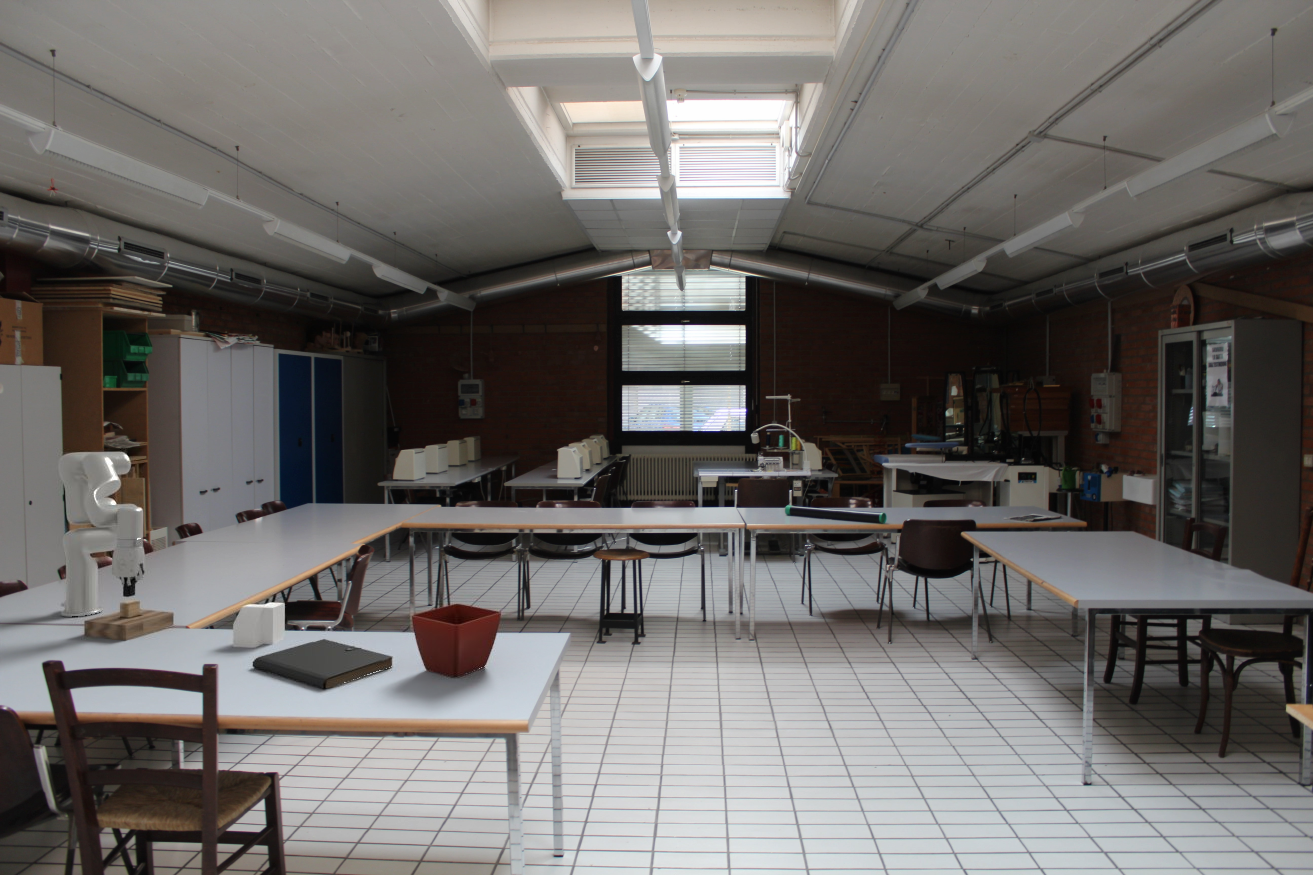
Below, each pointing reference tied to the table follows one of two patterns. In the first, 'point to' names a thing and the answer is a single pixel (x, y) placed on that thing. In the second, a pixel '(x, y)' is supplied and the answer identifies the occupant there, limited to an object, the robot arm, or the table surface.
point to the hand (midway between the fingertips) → (129, 595)
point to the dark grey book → (323, 663)
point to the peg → (129, 609)
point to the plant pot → (455, 638)
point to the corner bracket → (259, 625)
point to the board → (128, 625)
